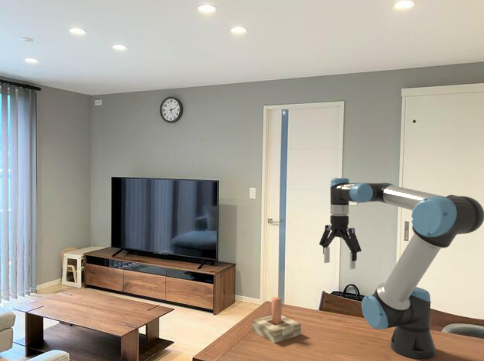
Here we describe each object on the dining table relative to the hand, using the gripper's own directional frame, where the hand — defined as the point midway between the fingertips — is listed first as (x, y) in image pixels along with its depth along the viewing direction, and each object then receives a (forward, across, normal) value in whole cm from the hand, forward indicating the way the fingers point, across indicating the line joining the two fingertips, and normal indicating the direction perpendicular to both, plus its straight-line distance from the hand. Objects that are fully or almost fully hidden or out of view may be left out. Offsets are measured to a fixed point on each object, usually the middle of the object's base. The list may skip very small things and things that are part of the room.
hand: (339, 265), depth 159 cm
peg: (+27, +12, +24) cm, 38 cm away
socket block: (+27, +12, +24) cm, 38 cm away
